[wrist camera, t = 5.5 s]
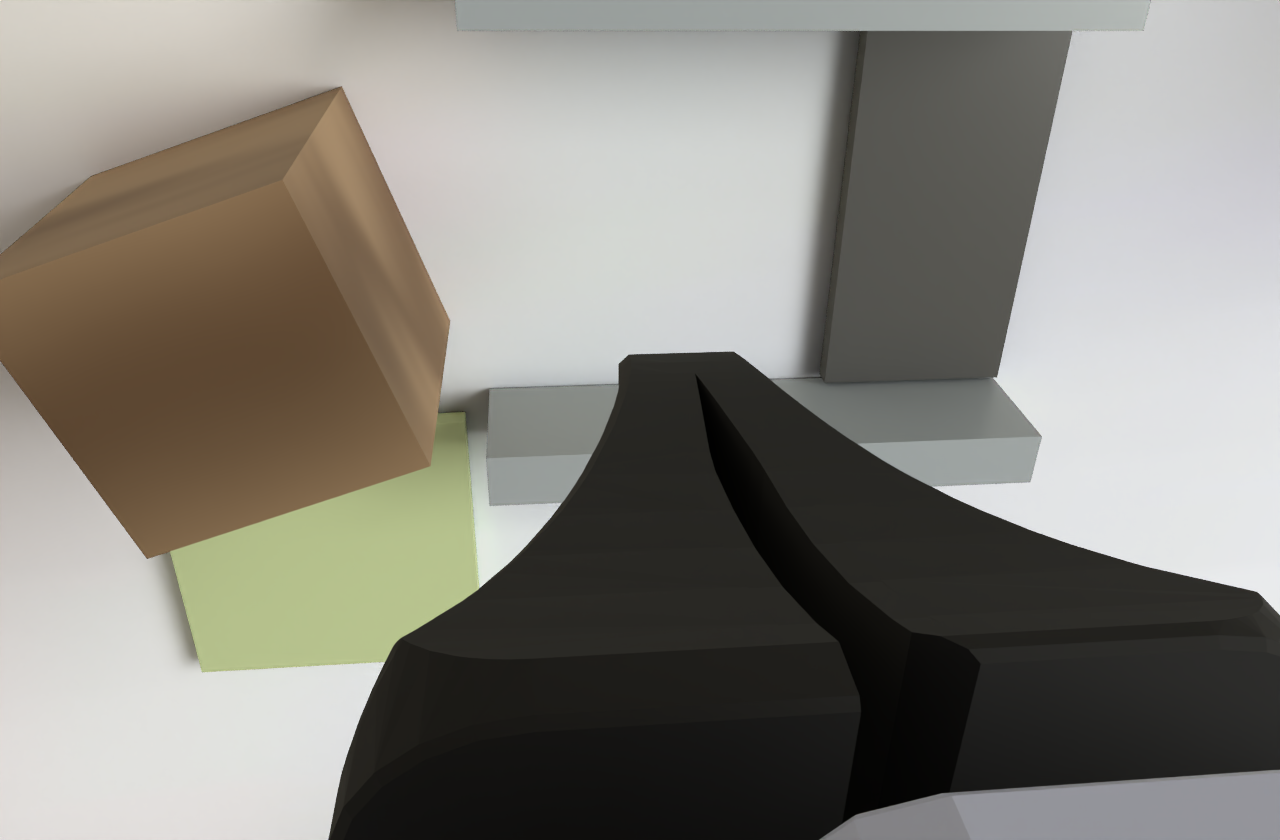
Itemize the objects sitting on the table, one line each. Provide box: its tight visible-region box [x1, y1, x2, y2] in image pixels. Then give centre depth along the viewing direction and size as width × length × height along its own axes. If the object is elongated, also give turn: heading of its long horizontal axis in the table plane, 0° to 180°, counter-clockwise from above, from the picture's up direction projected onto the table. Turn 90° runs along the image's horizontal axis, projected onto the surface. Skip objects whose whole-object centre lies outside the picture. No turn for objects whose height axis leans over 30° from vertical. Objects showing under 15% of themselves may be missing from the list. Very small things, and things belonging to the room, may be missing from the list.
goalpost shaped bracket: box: [455, 0, 1151, 506], centre depth 18 cm, size 9×10×2 cm
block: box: [0, 87, 450, 559], centre depth 16 cm, size 4×4×5 cm
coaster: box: [170, 412, 479, 672], centre depth 21 cm, size 6×6×1 cm
